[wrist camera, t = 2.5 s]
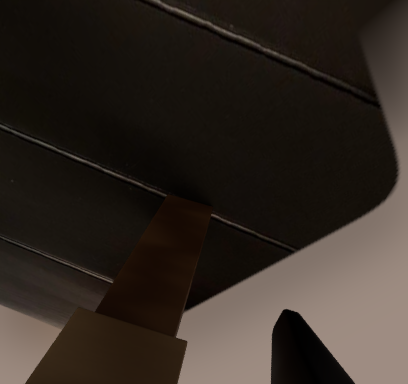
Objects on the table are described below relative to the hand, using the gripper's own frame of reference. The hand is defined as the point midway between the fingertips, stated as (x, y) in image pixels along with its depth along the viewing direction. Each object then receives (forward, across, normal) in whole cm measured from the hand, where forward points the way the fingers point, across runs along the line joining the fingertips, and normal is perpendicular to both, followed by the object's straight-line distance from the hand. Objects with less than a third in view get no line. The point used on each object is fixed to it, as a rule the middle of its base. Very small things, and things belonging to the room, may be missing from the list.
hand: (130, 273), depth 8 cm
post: (+11, 0, -6) cm, 13 cm away
